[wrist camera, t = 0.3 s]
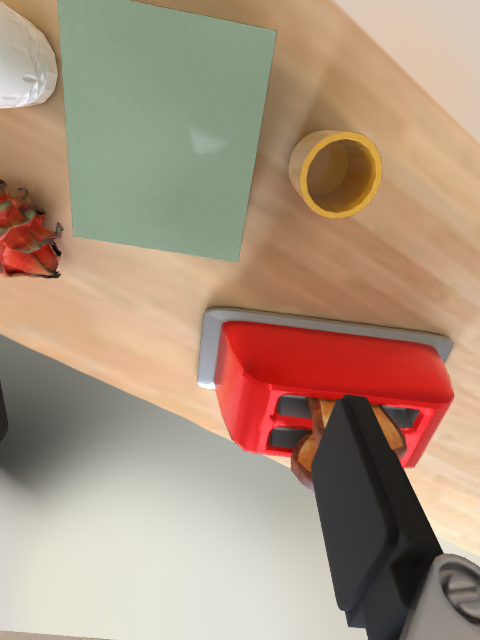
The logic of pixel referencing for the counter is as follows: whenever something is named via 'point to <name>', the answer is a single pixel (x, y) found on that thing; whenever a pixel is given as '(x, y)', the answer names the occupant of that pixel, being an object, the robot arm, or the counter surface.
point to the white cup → (24, 62)
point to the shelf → (161, 124)
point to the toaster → (320, 381)
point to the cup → (335, 172)
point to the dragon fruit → (25, 238)
